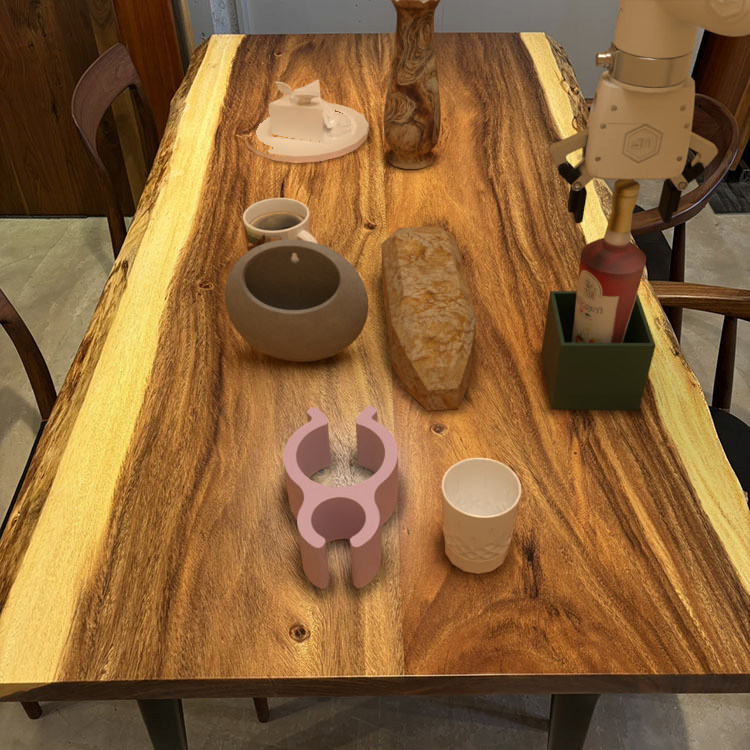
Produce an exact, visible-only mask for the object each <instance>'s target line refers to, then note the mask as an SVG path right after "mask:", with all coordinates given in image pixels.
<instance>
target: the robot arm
mask: <svg viewBox="0 0 750 750" xmlns="http://www.w3.org/2000/svg"><path fill="white" fill-rule="evenodd" d="M699 28H701V29H703V30H706V31H708V32H711V33H714V34H716V35H721V36H725V37H734V38H735V37H744V36H749V35H750V0H619V5H618V10H617V17H616V22H615V30H614V36H613V41H611V43H610V46H609V47H608V50H604V51H600V52H598V51H597V52H596V55H595V67H597V68H599V67H602V68H603V69H607V70H604V71H603V72H602V73H601V76H600V79H599V81H598V84H597V86H596V89H595V93H594V95H593V99H592V102H591V106H590V109H589V110H590V111H589V113H588V116H587V122H586V125H585V129H583V130H581V131H578V132H576V133H574V134H572V135H569V136H567V137H566V138H563V139H561V140H559V141H557V142H555V143H552V144H551V145H550V146H549V152H550V156H551V159H552V161H553V162H554V164H555V167H556V169H557V171H558V174H559V176H561V177H562V178H563V180H564V181H566V183H567V184H569V186H570V187H569V194H568V200H567V212H568V213H572V216H573V219H574V223H575V224H581V223H582V222H583V220H584V214H585V210H586V209H585V208H586V201H587V196H588V195H587V194H588V192H587V189H586V186H587V185H588V184H589V183H590V182H591V181H592V180H594V179H598V180H615V181H617V180H634V181H635V180H664V181H663V185H662V188H661V193H660V198H659V203H658V207H657V211H658V214H659V216H660V218H661V221H662V222H663V223H664V224H671V223H672V218H673V216H674V215H673V214H674V213H677V212H678V210H679V206H680V202H681V198H682V193H683V191H685V190H686V189H688V187H689V184H690V183H691V182H693V181H695V180H696V179H697V178H698V177H700V176H701V175H702V174H703V173H704V172H705V169H706V168H707V167H708V166H709V165H710V164H711V162H712V161H713V160H714V159H715V157H716V156H717V155H718V153H719V149H718V148H717V146H716V145H715V143H713V142H711V141H710V140H708V139H706V138H704V137H702V136H701V135H699V134H697V133H695V132H693V131H692V129H693V119H694V110H695V98H696V81H695V80H694V78H693V77H692V76H691V75H690V74H689V70H690V66H691V63H692V62H691V61H692V57H693V53H694V49H695V45H696V40H697V35H698V31H699ZM689 149H691V150H692V151H694V152H696V155H695V157H694V158H691V160H689V161H688V162H687V159H688V154H689ZM578 150H582V151H581V155H582V159H581V160H579V162H578V163H577V164H576V165H575V166H573V165H572V164H571V163H570V162H569V161H568V159H567V156H568V155H570V154H572V153H574V152H576V151H578Z"/></svg>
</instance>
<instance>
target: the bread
mask: <svg viewBox="0 0 750 750" xmlns="http://www.w3.org/2000/svg"><path fill="white" fill-rule="evenodd" d="M380 246H381V247H380V248H381V249H380V250H381V286H382V293H383V302H384V309H385V316H386V317H385V318H386V325H387V326H386V327H387V335H388V341H389V343H388V344H389V351H390V358H391V365H392V368H393V370H394V372H395V373H396V376H397V377H398V378H399V380H400V382H401V384H402V386H403V387H404V389H405V391H406V392H407V393H408V394H409V395H410V396H412V398H414V399H415V401H416V402H418V403H419V404H420V405H421V406H422V408H424V409H425V410H426V411H444V410H458V408H459V407H460V405H461V403H462V401H463V398H464V397H465V394H466V392H467V390H468V388H469V384H470V381H471V380H470V379H471V375H472V370H473V365H474V364H473V363H474V356H475V355H474V354H475V341H476V340H475V339H476V327H477V325H476V324H477V317H476V316H477V315H476V312H475V308H474V304H473V301H472V297H471V293H470V290H469V289H470V288H469V286H468V282H467V277H466V274H465V269H464V265H463V262H462V258H461V255H460V251H459V246H458V243H457V239H456V238H455V237H454V235H452V234H451V233H450V232H448V231H447V230H445V229H443V228H442V227H440V226H438V225H429V226H428V225H427V226H413V227H411V226H409V227H408V226H407V227H398V228H397V229H396V230H394V232H392V233H391V234H390V235H389V236H388V237H387V238H386V239H385V240H384V241H382V242H381V244H380Z"/></svg>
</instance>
